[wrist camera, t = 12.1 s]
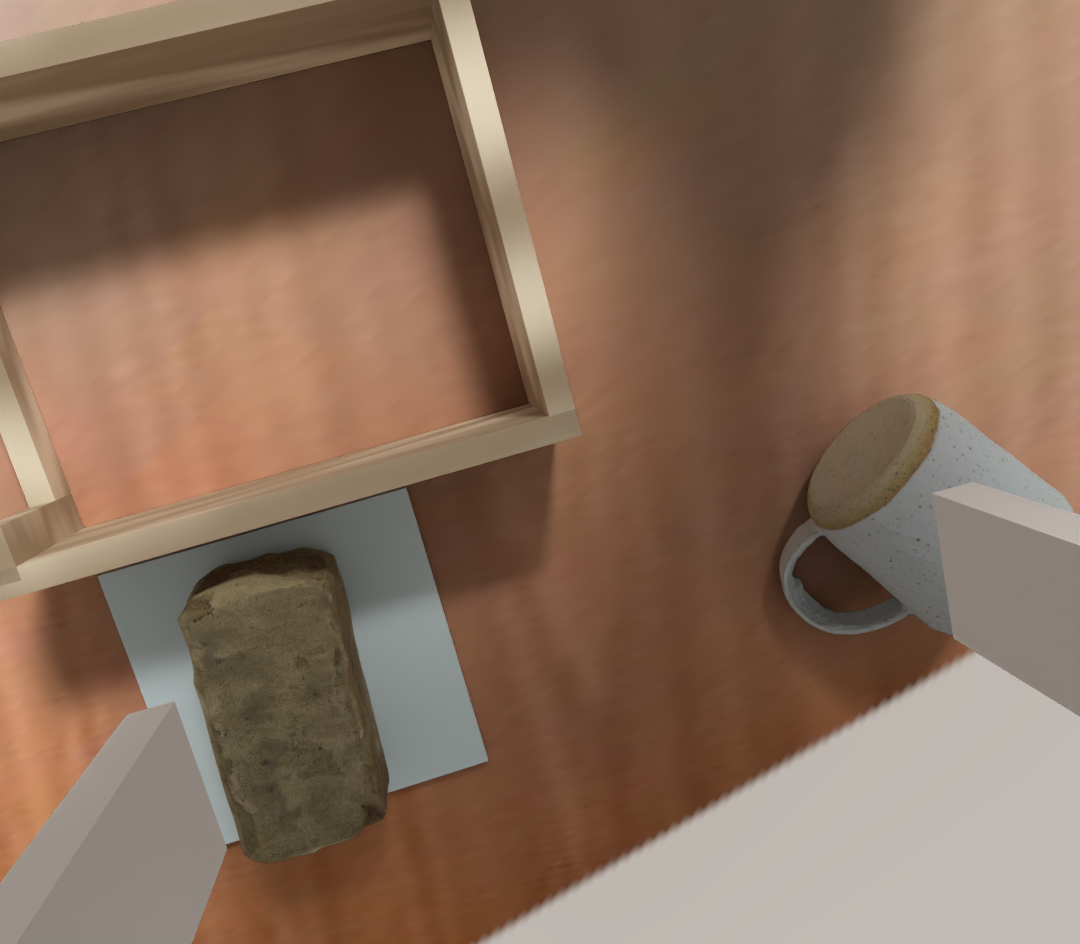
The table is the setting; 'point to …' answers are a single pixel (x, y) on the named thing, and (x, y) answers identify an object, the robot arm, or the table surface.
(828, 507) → the ceramic mug
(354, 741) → the stone block
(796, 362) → the table surface
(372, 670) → the mat
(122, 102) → the slotted box
